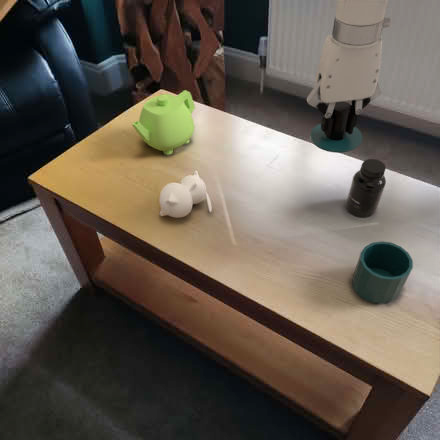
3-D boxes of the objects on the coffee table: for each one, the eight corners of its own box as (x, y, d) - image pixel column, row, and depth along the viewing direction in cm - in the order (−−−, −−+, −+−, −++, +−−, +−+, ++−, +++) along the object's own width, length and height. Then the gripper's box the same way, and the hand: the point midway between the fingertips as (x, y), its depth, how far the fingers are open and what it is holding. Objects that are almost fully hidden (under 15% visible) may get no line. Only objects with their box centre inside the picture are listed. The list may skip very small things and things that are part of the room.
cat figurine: (197, 159, 95) (157, 185, 90) (227, 197, 96) (189, 225, 91) (185, 178, 103) (147, 203, 98) (212, 213, 104) (177, 239, 98)
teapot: (157, 169, 109) (149, 124, 99) (123, 149, 115) (112, 105, 105) (211, 134, 118) (208, 89, 108) (177, 117, 123) (172, 73, 113)
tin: (389, 263, 88) (400, 238, 82) (408, 299, 82) (421, 275, 76) (345, 270, 87) (353, 245, 81) (362, 307, 81) (371, 282, 76)
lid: (351, 123, 89) (358, 89, 83) (368, 151, 83) (377, 117, 77) (303, 129, 88) (308, 95, 82) (317, 158, 82) (323, 124, 76)
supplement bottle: (342, 215, 96) (353, 171, 87) (348, 196, 100) (359, 152, 91) (373, 223, 95) (388, 178, 85) (378, 203, 98) (393, 158, 89)
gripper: (397, 14, 72) (371, 116, 87) (300, 25, 71) (290, 126, 86) (416, 33, 67) (385, 137, 82) (313, 45, 66) (300, 148, 81)
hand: (337, 130), depth 84 cm, fingers closed on lid, 3 cm apart
